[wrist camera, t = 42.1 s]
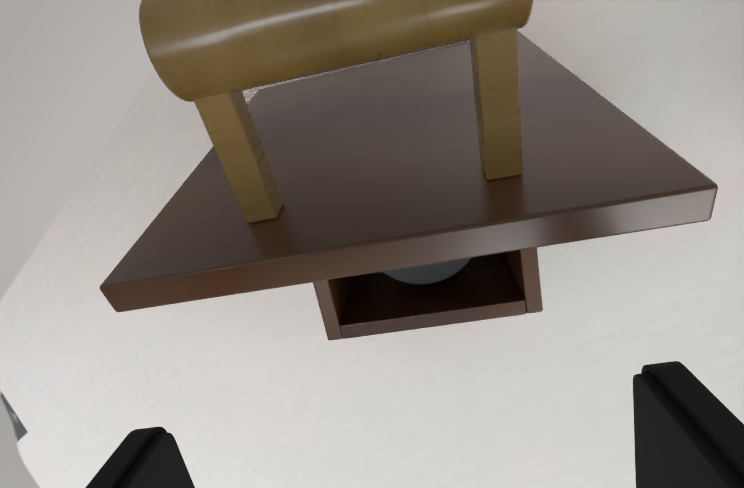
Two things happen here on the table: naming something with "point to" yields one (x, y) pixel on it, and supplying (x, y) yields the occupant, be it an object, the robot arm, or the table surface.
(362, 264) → the lid
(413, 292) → the chest
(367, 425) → the table surface
